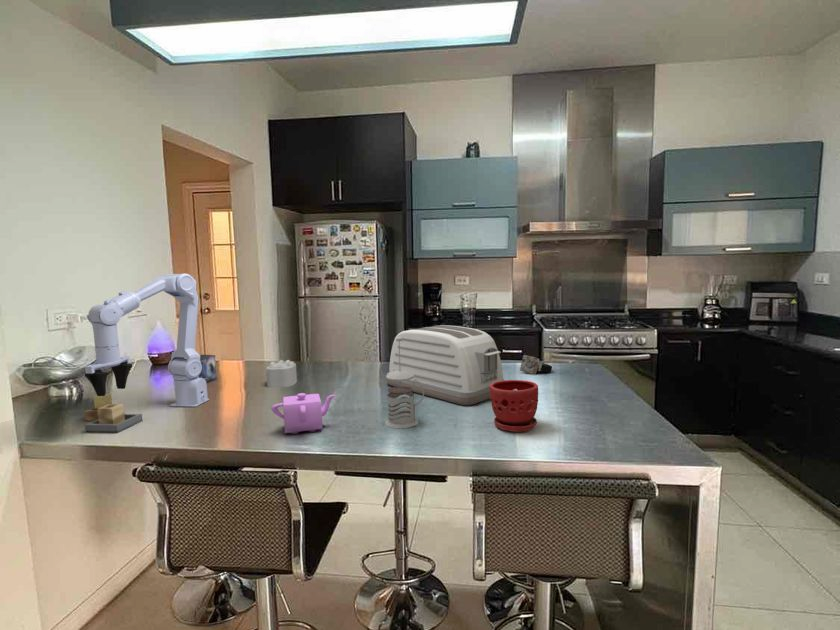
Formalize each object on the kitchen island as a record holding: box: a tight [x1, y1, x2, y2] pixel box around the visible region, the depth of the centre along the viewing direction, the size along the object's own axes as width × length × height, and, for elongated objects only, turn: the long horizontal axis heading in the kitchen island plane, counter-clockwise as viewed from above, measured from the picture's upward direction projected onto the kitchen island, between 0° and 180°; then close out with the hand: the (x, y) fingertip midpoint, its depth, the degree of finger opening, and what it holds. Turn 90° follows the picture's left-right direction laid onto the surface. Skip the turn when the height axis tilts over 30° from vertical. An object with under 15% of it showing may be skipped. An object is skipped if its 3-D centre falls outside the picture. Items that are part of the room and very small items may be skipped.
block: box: [98, 403, 125, 424], centre depth 137 cm, size 4×4×6 cm
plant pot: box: [489, 379, 539, 433], centre depth 128 cm, size 13×13×12 cm
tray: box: [84, 413, 144, 434], centre depth 137 cm, size 10×10×2 cm
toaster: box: [385, 324, 506, 406], centre depth 167 cm, size 23×45×22 cm, turn 43°
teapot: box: [270, 392, 337, 435], centre depth 130 cm, size 18×14×10 cm
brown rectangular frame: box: [84, 403, 125, 422], centre depth 146 cm, size 7×7×3 cm
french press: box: [384, 337, 425, 429], centre depth 133 cm, size 10×12×25 cm
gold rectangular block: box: [93, 393, 113, 410], centre depth 146 cm, size 3×3×7 cm
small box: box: [199, 354, 218, 384], centre depth 187 cm, size 11×6×10 cm, turn 168°
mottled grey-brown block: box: [519, 354, 553, 376], centre depth 191 cm, size 7×11×10 cm
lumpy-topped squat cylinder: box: [265, 359, 298, 388], centre depth 183 cm, size 10×13×9 cm
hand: (111, 392), depth 136 cm, fingers open, 7 cm apart
